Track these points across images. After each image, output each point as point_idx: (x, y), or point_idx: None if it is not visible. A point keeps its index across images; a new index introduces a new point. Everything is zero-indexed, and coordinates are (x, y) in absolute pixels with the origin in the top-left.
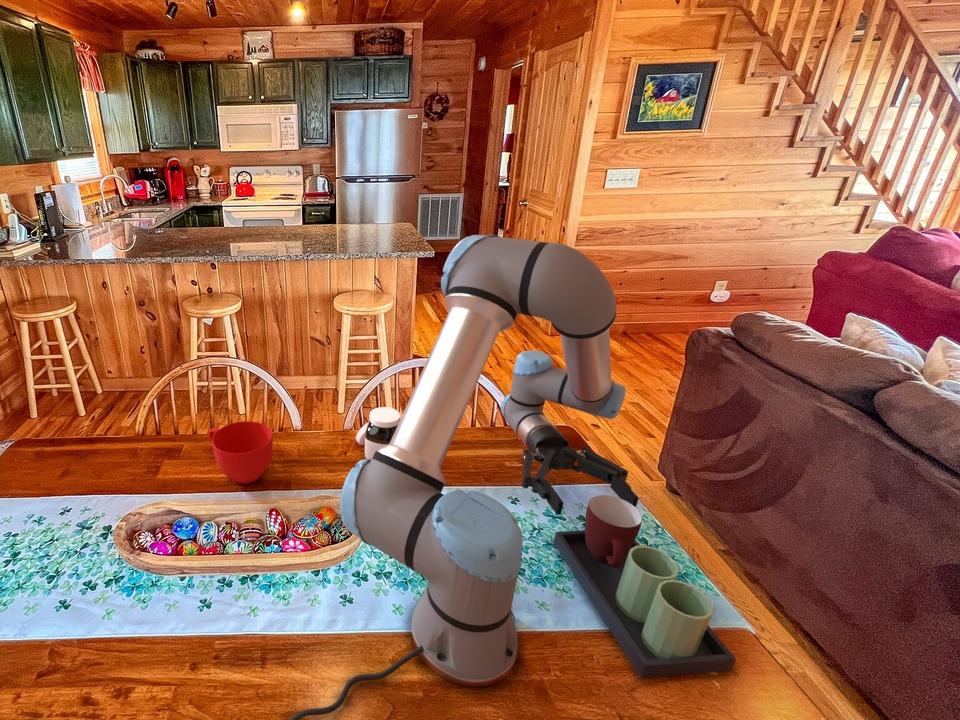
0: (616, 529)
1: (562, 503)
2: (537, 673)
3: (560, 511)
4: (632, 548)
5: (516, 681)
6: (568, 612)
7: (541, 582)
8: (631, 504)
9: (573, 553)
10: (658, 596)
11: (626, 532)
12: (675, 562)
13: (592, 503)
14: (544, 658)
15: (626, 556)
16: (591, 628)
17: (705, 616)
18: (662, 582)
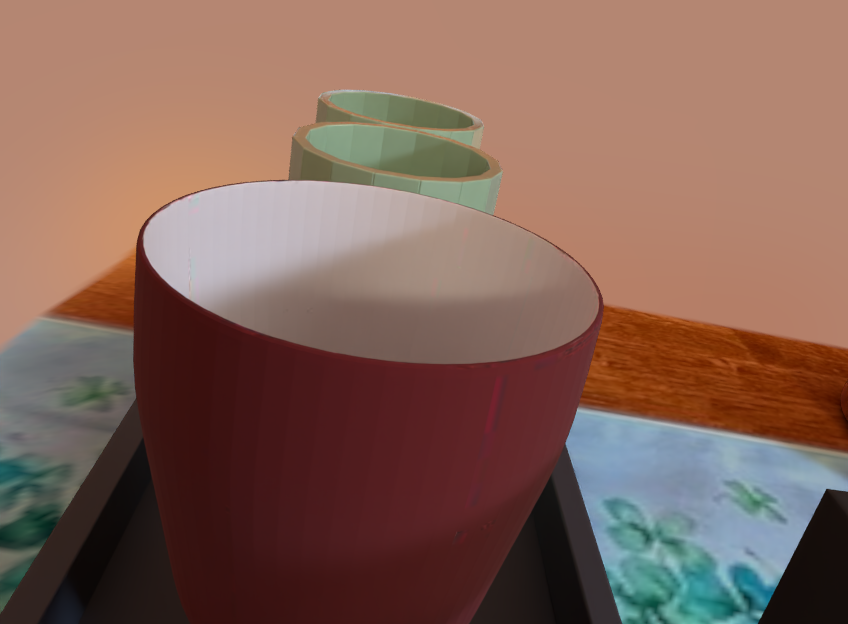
0: (460, 231)
1: (826, 506)
2: (773, 372)
3: (783, 594)
4: (452, 179)
5: (828, 372)
6: (649, 461)
7: (754, 587)
8: (144, 243)
9: (588, 577)
10: (482, 133)
11: (394, 228)
12: (299, 129)
13: (472, 438)
14: (752, 388)
15: (152, 608)
16: (580, 410)
17: (387, 93)
18: (436, 128)
